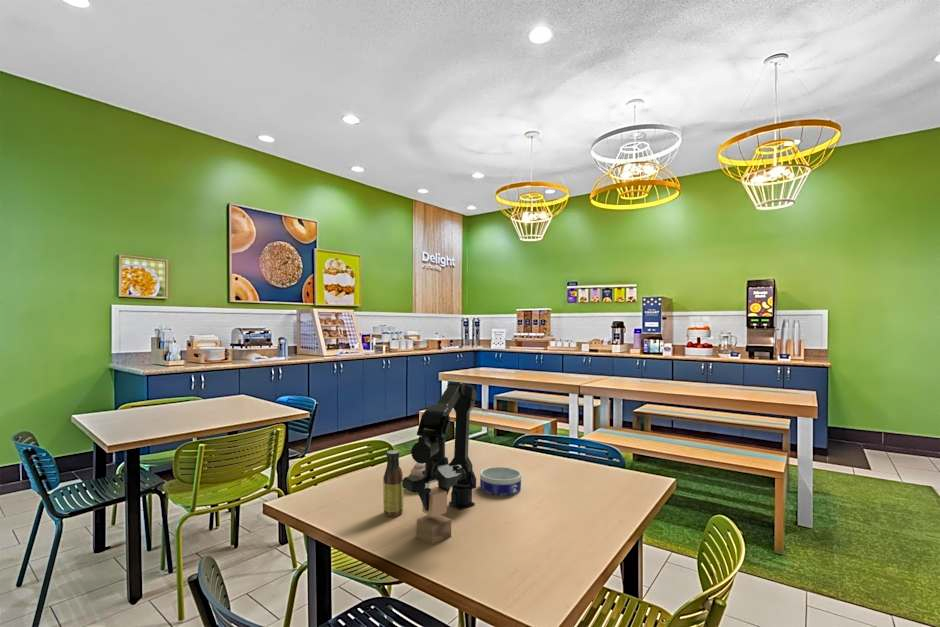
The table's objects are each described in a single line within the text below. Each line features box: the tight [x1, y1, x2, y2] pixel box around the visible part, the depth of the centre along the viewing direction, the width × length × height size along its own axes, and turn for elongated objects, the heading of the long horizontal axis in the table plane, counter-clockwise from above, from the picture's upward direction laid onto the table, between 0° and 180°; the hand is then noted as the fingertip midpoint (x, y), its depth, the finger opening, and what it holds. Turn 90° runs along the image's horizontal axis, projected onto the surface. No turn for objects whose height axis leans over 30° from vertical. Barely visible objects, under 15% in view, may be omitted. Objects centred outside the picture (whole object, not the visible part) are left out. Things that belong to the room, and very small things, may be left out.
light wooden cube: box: [421, 486, 448, 517], centre depth 132 cm, size 5×5×6 cm
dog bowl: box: [479, 466, 522, 497], centre depth 171 cm, size 15×15×6 cm
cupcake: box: [407, 462, 431, 488], centre depth 171 cm, size 9×9×10 cm
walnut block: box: [416, 514, 452, 545], centre depth 132 cm, size 7×7×5 cm
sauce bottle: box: [382, 449, 404, 517], centre depth 148 cm, size 7×6×20 cm
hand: (434, 508), depth 132 cm, fingers closed on light wooden cube, 5 cm apart
